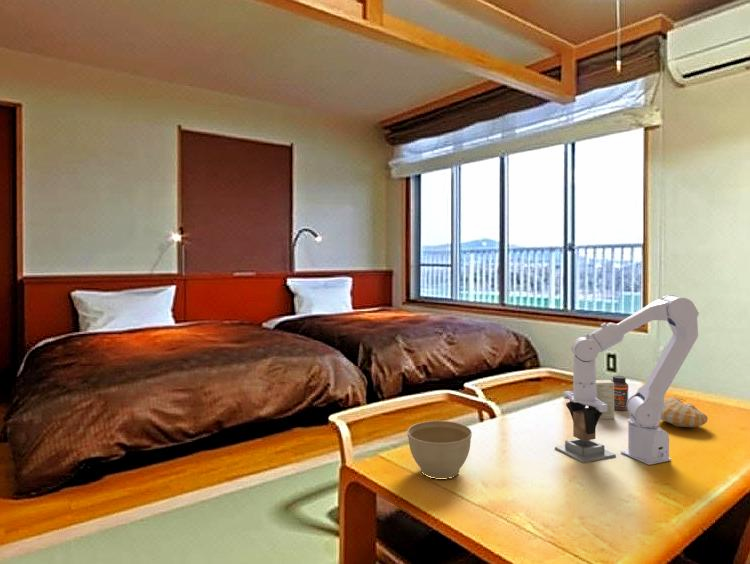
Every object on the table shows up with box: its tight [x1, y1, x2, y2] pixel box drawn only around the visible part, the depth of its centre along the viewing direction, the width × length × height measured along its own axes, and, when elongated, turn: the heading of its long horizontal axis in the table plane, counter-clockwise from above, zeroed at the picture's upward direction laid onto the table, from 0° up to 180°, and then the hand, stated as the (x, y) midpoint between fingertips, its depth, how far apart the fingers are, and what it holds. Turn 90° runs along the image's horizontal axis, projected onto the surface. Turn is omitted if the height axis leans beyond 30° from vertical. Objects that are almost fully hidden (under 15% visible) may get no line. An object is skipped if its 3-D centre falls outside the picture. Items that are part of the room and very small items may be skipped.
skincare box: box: [596, 379, 615, 420], centre depth 174 cm, size 6×4×12 cm
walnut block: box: [572, 410, 597, 441], centre depth 143 cm, size 4×4×7 cm
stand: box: [554, 438, 617, 464], centre depth 144 cm, size 11×11×3 cm
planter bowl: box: [406, 420, 472, 478], centre depth 133 cm, size 16×16×11 cm
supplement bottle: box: [611, 375, 629, 412], centre depth 182 cm, size 6×6×11 cm
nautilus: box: [660, 397, 708, 429], centre depth 166 cm, size 8×22×15 cm
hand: (584, 430), depth 143 cm, fingers closed on walnut block, 4 cm apart
